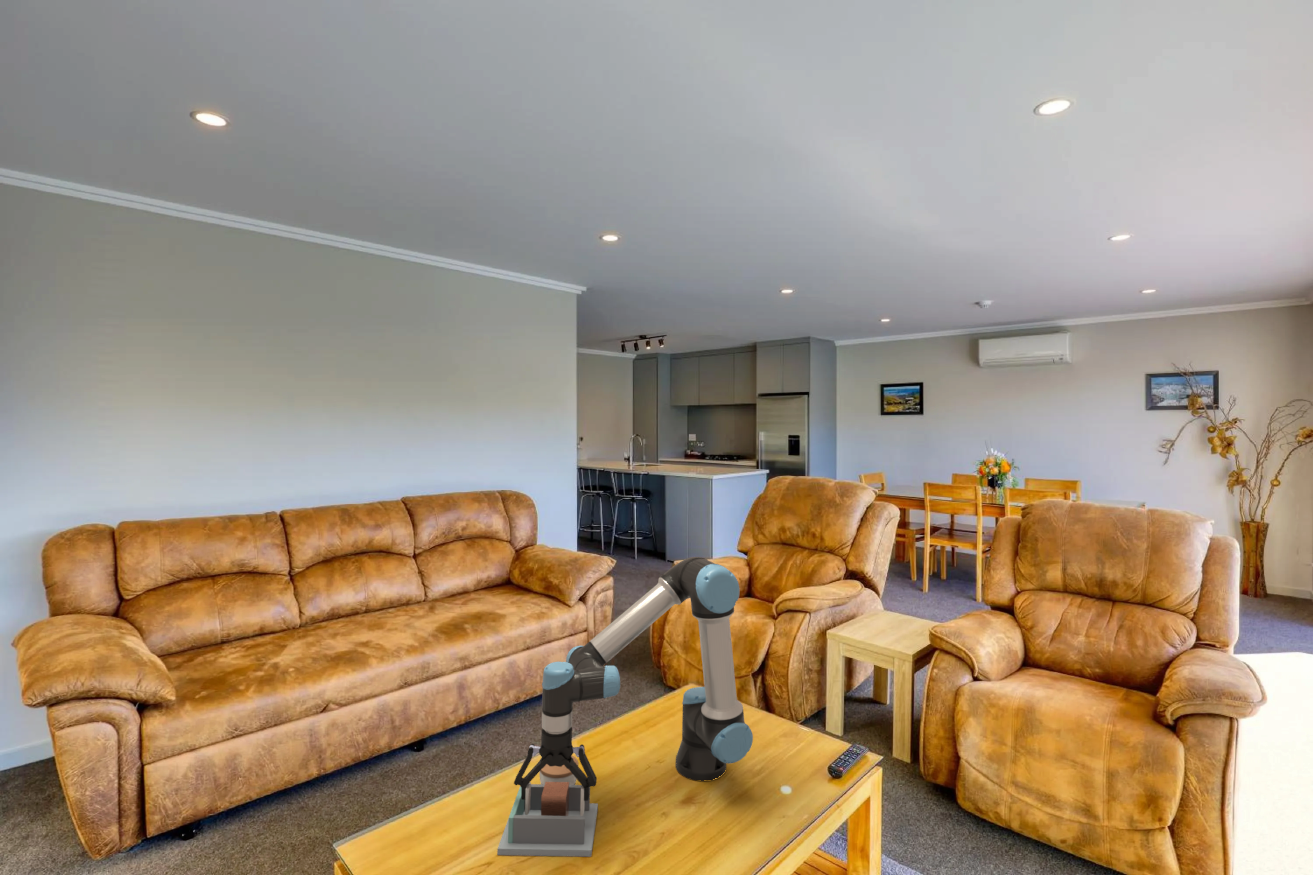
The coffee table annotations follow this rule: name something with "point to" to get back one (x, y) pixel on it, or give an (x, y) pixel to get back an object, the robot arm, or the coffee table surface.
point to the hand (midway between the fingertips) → (554, 811)
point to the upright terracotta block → (555, 799)
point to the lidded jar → (557, 774)
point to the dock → (549, 827)
